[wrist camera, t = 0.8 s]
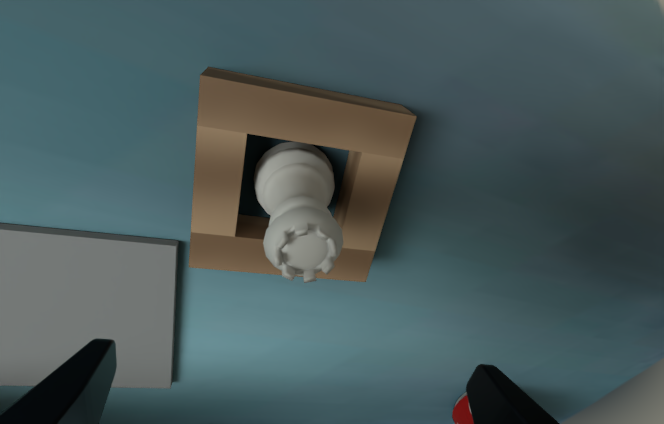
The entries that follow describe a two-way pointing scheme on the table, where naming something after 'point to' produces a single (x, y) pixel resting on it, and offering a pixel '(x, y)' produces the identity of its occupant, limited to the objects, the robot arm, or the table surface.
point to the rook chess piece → (298, 210)
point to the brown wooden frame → (300, 126)
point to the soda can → (462, 411)
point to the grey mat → (86, 303)
